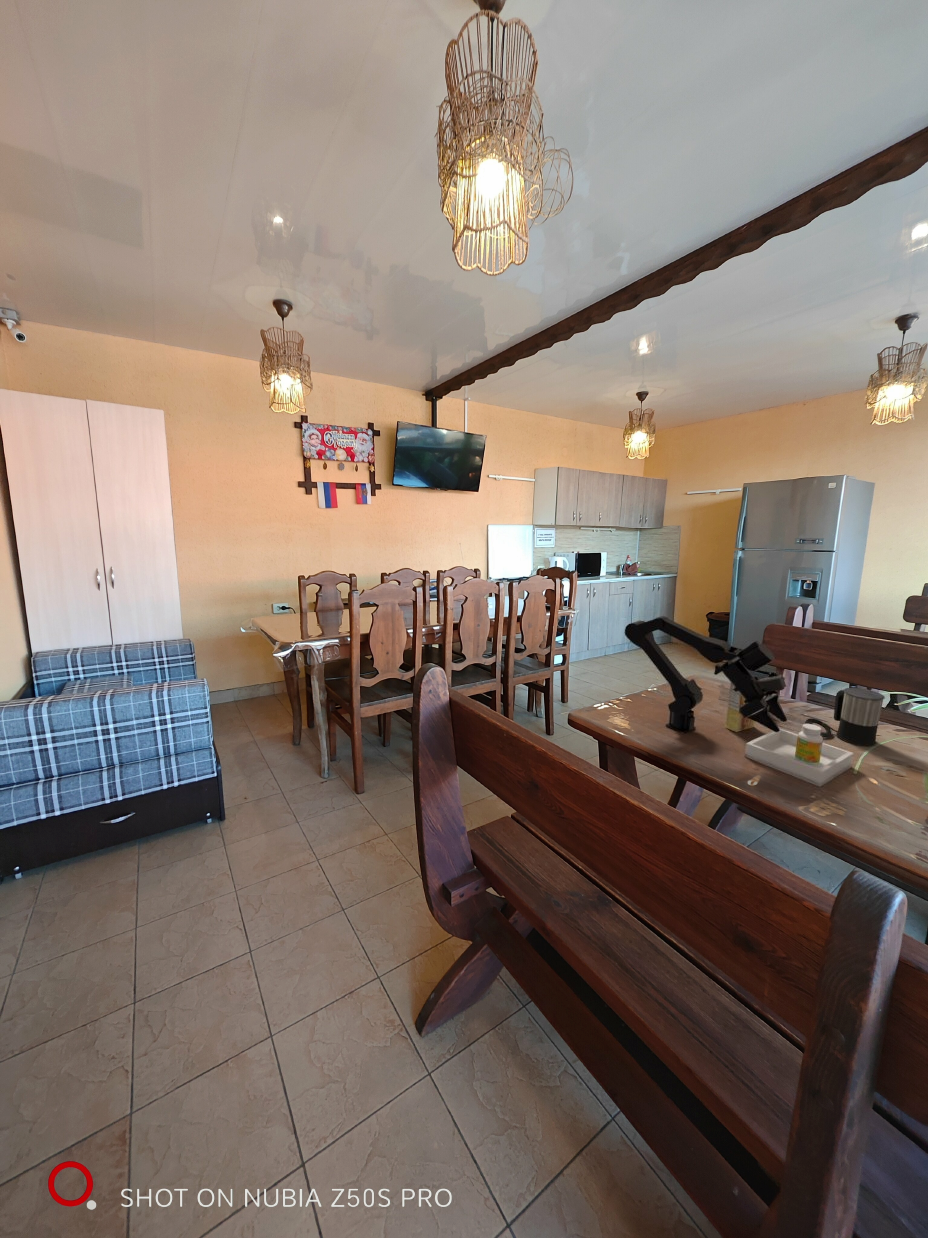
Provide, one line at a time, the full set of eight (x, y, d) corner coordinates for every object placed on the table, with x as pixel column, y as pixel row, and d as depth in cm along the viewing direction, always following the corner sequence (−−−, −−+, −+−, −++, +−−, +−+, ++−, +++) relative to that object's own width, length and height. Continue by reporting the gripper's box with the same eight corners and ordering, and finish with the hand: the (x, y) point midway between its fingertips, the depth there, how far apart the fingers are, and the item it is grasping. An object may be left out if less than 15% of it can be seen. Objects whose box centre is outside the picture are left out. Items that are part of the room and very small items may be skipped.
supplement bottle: (792, 760, 123) (796, 726, 121) (797, 753, 126) (802, 720, 125) (816, 767, 119) (821, 733, 117) (821, 760, 122) (827, 727, 121)
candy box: (742, 722, 149) (747, 677, 146) (755, 727, 146) (760, 681, 143) (724, 727, 146) (729, 682, 143) (737, 733, 142) (742, 686, 139)
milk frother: (885, 745, 133) (893, 697, 130) (840, 751, 130) (848, 701, 127) (837, 725, 146) (844, 681, 144) (796, 729, 143) (802, 685, 141)
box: (744, 756, 127) (746, 743, 126) (777, 740, 136) (779, 728, 135) (819, 787, 112) (822, 772, 111) (851, 767, 121) (853, 753, 120)
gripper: (758, 672, 120) (803, 723, 114) (775, 657, 133) (816, 703, 127) (722, 692, 127) (763, 742, 121) (741, 677, 140) (779, 721, 134)
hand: (782, 726), depth 126 cm, fingers open, 9 cm apart
